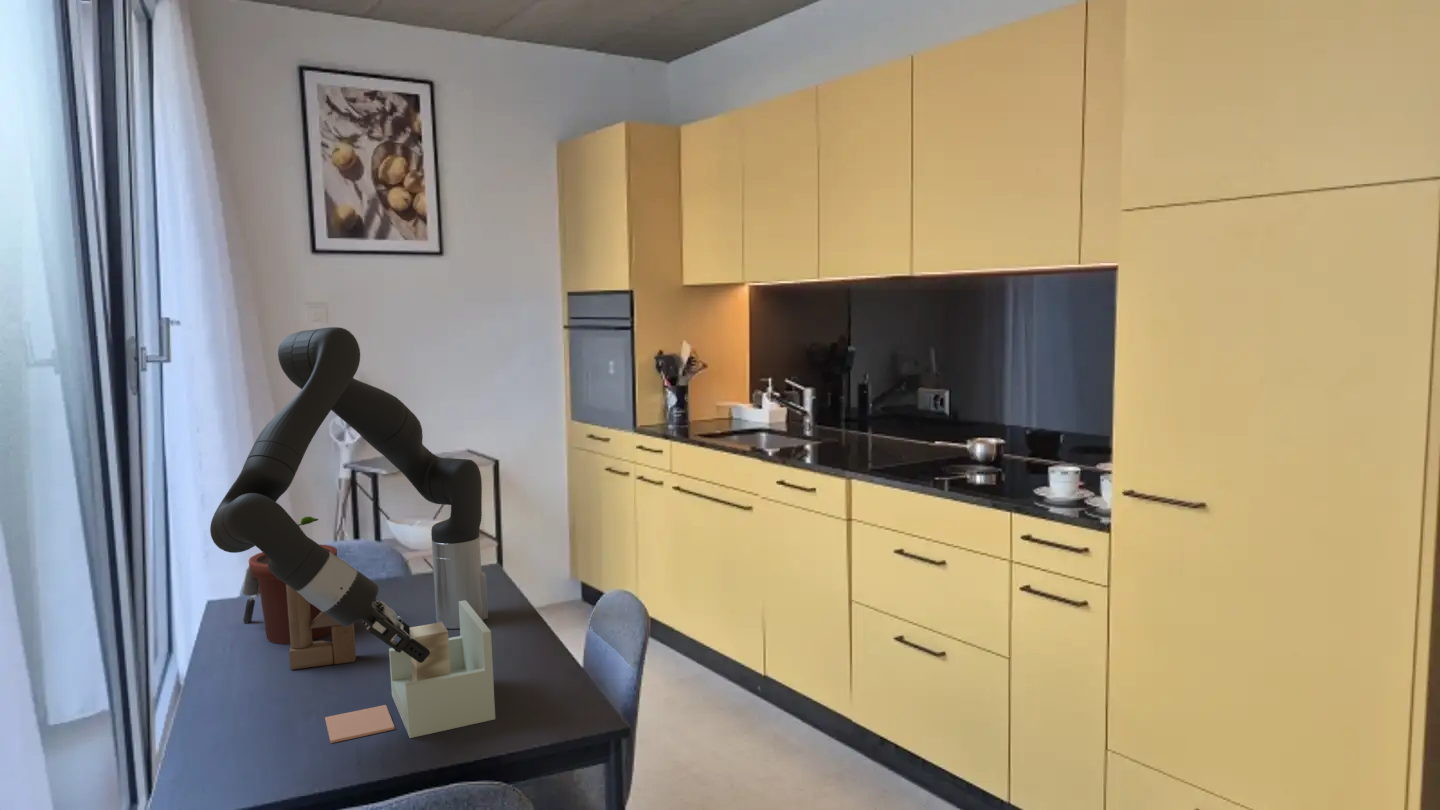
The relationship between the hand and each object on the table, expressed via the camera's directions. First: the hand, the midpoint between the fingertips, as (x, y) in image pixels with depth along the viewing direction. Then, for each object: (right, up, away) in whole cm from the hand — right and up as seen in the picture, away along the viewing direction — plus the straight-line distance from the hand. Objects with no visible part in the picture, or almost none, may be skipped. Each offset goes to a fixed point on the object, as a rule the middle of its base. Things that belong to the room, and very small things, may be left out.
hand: (421, 648), depth 148 cm
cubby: (+3, -10, +2) cm, 11 cm away
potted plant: (-38, -7, +40) cm, 55 cm away
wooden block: (-25, -9, +22) cm, 34 cm away
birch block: (+1, -7, +1) cm, 7 cm away
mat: (-8, -11, -3) cm, 14 cm away
